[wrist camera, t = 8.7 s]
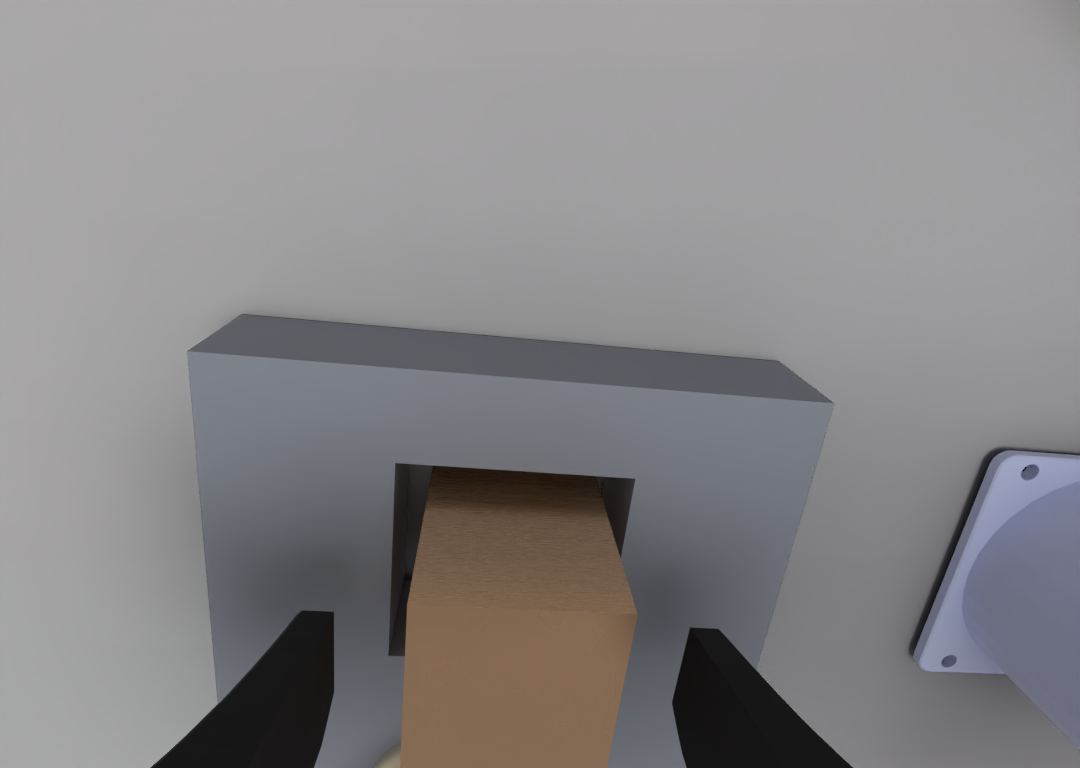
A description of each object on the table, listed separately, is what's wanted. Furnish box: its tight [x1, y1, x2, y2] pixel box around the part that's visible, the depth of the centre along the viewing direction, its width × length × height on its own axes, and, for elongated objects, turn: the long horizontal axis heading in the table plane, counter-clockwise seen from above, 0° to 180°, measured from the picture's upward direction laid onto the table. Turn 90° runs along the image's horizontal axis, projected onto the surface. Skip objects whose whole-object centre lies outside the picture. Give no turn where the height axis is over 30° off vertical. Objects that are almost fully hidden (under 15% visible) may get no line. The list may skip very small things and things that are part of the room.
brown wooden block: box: [400, 466, 638, 768], centre depth 15 cm, size 4×4×7 cm
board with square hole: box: [187, 314, 834, 768], centre depth 16 cm, size 14×16×7 cm
